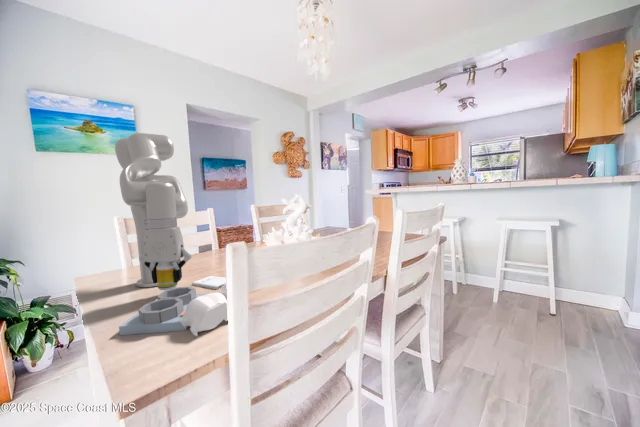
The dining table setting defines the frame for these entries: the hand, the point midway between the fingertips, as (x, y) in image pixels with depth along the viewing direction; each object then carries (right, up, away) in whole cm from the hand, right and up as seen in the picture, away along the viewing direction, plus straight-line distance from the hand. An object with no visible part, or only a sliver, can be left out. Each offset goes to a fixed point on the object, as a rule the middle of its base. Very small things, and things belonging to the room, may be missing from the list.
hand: (167, 280), depth 82 cm
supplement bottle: (0, -2, 0) cm, 2 cm away
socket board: (+9, -5, -14) cm, 18 cm away
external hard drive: (+11, -4, +10) cm, 15 cm away
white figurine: (+22, -5, -18) cm, 29 cm away
